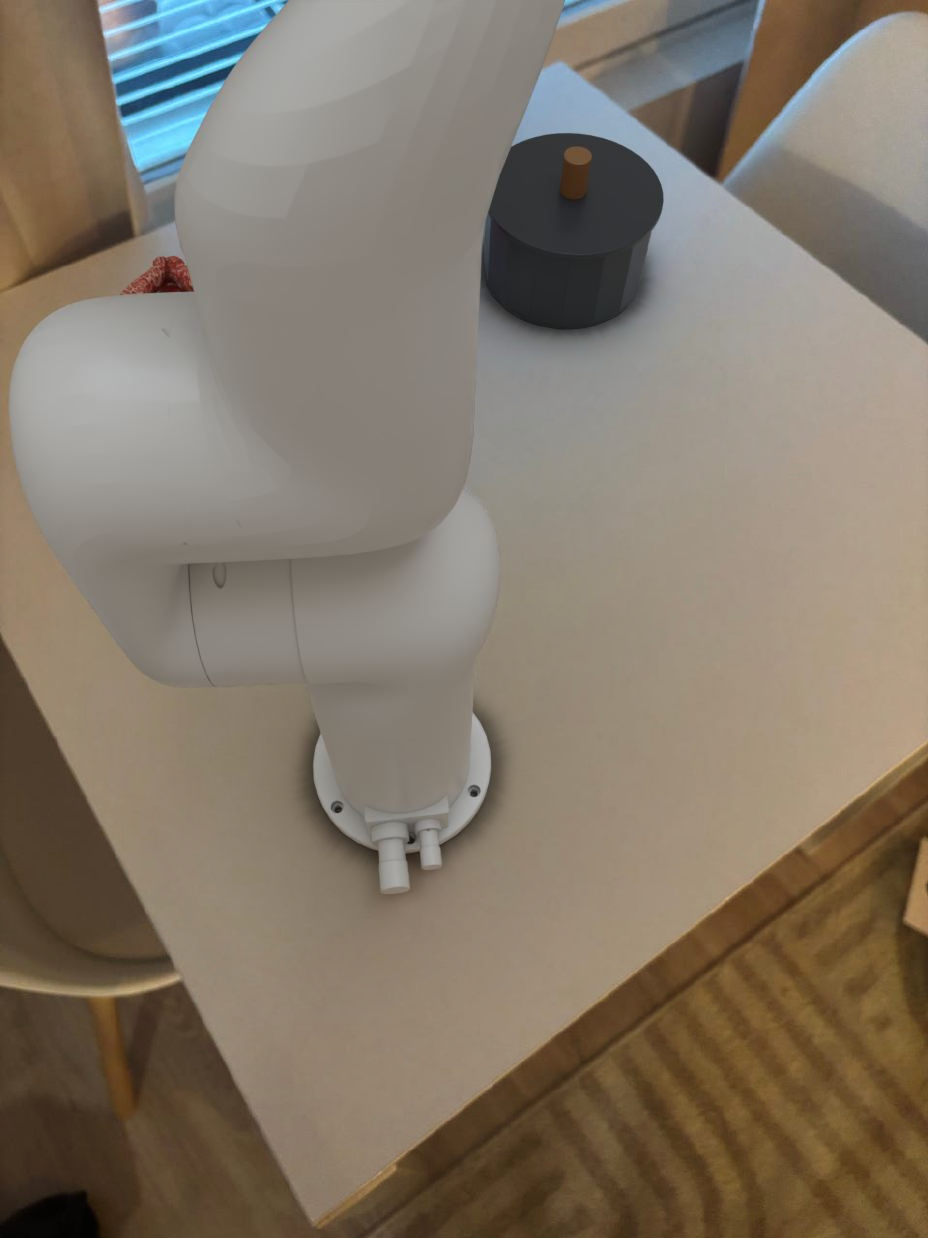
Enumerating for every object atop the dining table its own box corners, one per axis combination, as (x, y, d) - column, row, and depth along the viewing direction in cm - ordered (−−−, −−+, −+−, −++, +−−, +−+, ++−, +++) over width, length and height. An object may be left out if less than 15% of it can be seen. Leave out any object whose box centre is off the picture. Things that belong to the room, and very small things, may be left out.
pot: (654, 322, 88) (674, 248, 81) (496, 335, 87) (500, 261, 80) (622, 213, 95) (637, 135, 88) (475, 224, 94) (477, 146, 87)
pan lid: (679, 257, 81) (691, 212, 77) (495, 271, 80) (498, 226, 76) (640, 137, 88) (649, 90, 84) (471, 149, 87) (472, 102, 83)
